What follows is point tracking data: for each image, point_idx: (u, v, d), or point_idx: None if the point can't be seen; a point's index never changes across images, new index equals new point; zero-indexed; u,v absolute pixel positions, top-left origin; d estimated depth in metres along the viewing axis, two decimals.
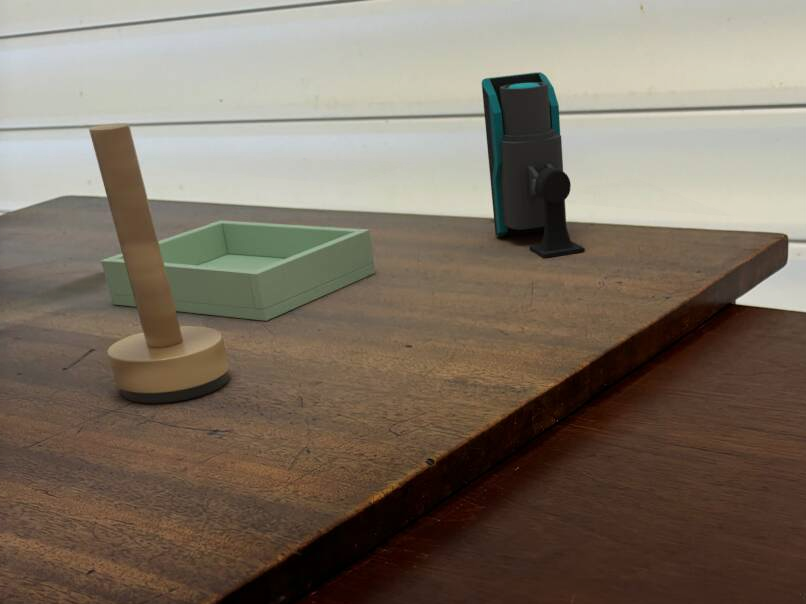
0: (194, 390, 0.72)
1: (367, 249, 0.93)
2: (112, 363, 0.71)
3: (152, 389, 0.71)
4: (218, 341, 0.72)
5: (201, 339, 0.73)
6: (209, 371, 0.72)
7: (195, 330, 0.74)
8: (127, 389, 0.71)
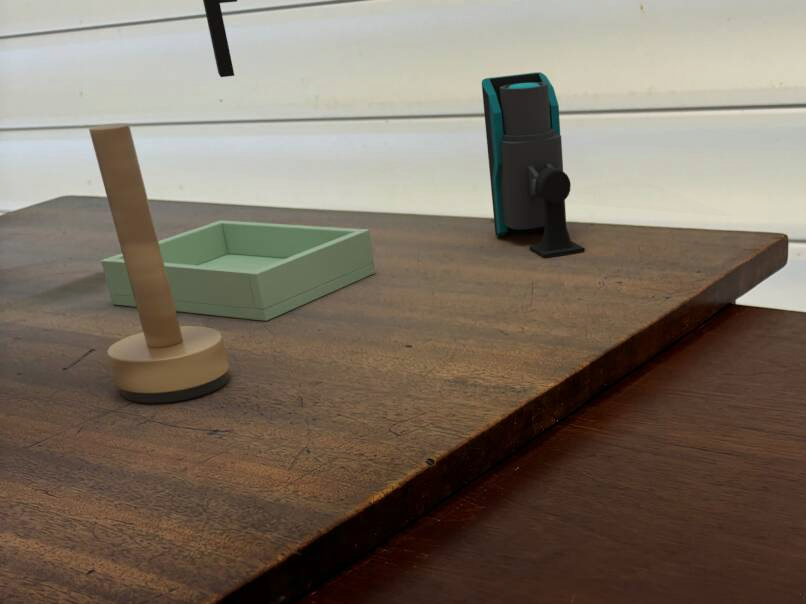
0: (194, 390, 0.72)
1: (367, 249, 0.93)
2: (112, 363, 0.71)
3: (152, 389, 0.71)
4: (218, 341, 0.72)
5: (201, 339, 0.73)
6: (209, 371, 0.72)
7: (195, 330, 0.74)
8: (127, 389, 0.71)
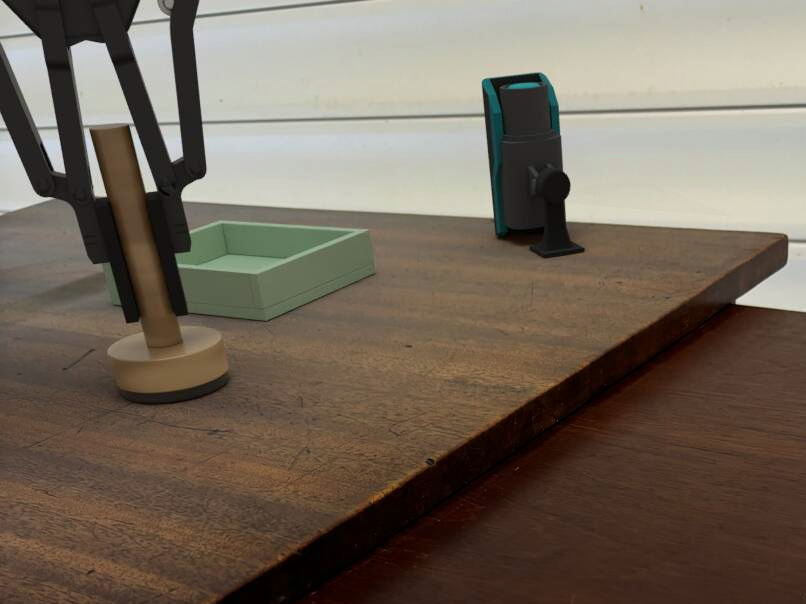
0: (194, 390, 0.72)
1: (367, 249, 0.93)
2: (112, 363, 0.71)
3: (152, 389, 0.71)
4: (218, 341, 0.72)
5: (201, 339, 0.73)
6: (209, 371, 0.72)
7: (195, 330, 0.74)
8: (127, 389, 0.71)
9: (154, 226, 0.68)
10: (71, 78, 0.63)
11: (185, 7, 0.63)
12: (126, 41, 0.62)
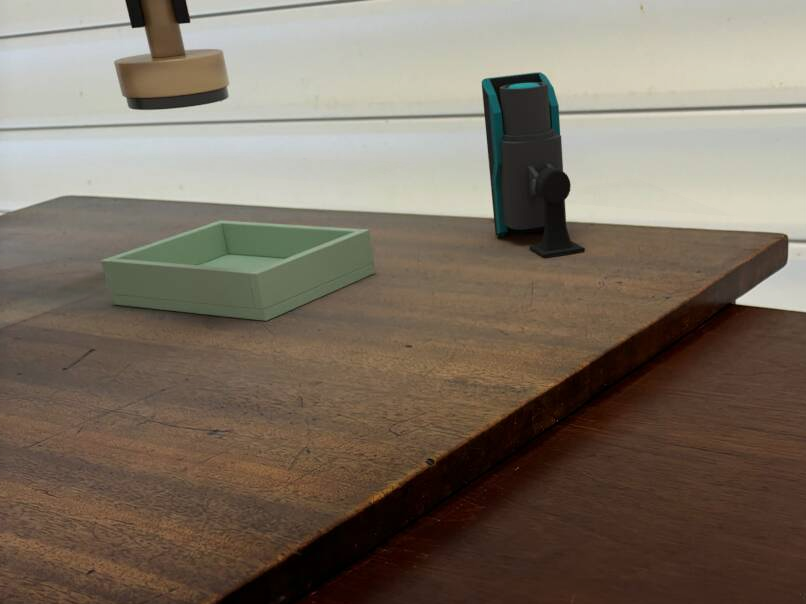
0: (195, 97, 0.76)
1: (367, 249, 0.93)
2: (118, 69, 0.75)
3: (155, 93, 0.75)
4: (219, 53, 0.76)
5: (203, 52, 0.77)
6: (209, 80, 0.76)
7: (198, 50, 0.78)
8: (132, 95, 0.76)
9: None
10: None
11: None
12: None
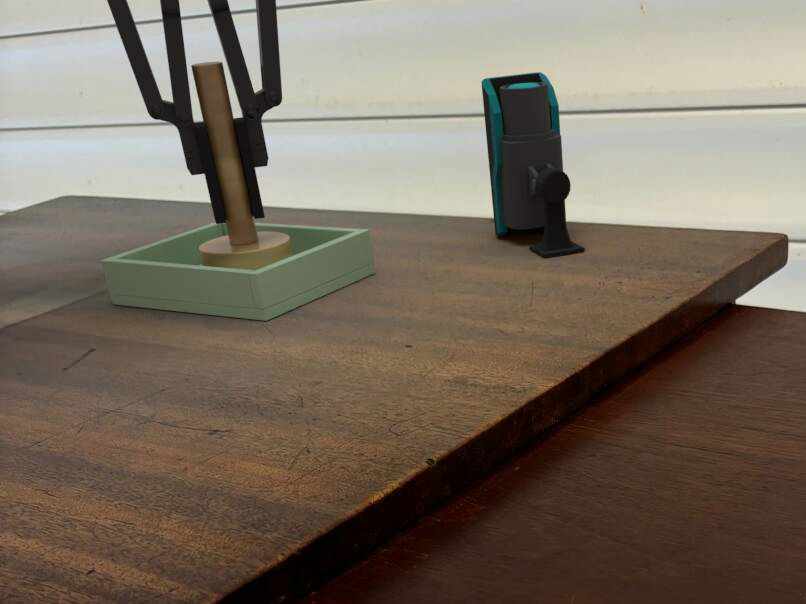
0: None
1: (367, 249, 0.93)
2: (203, 256, 0.89)
3: None
4: (287, 240, 0.90)
5: (273, 239, 0.91)
6: None
7: (267, 234, 0.92)
8: None
9: (240, 144, 0.86)
10: (180, 24, 0.81)
11: None
12: None
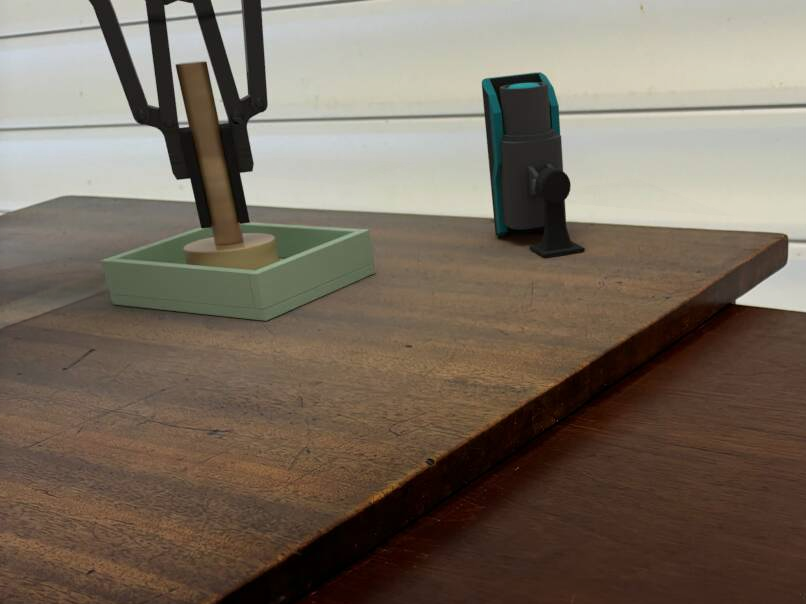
0: None
1: (367, 249, 0.93)
2: (186, 255, 0.89)
3: None
4: (270, 241, 0.90)
5: (257, 240, 0.90)
6: (261, 264, 0.89)
7: (255, 235, 0.92)
8: None
9: (225, 149, 0.86)
10: (166, 30, 0.81)
11: None
12: (209, 1, 0.81)
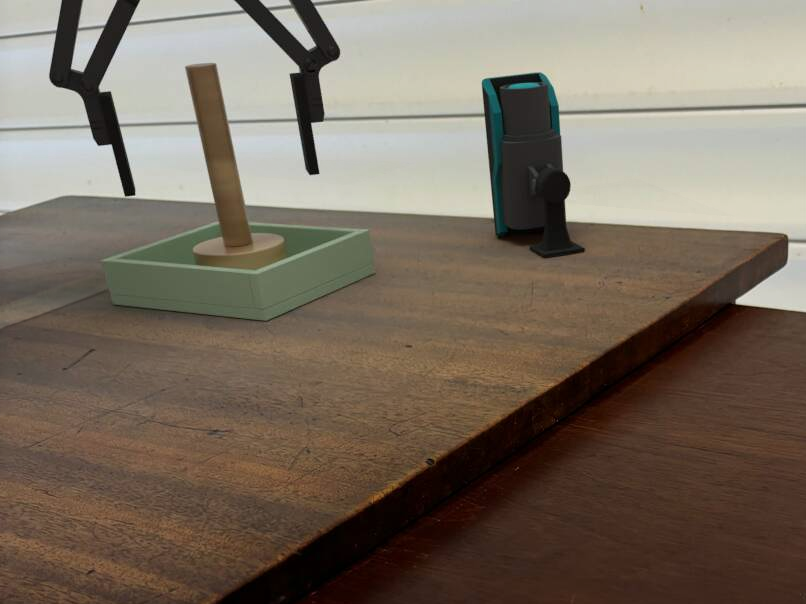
0: None
1: (367, 249, 0.93)
2: (195, 257, 0.89)
3: None
4: (279, 244, 0.90)
5: (266, 242, 0.90)
6: None
7: (264, 236, 0.92)
8: None
9: (297, 98, 0.86)
10: (132, 13, 0.80)
11: None
12: None
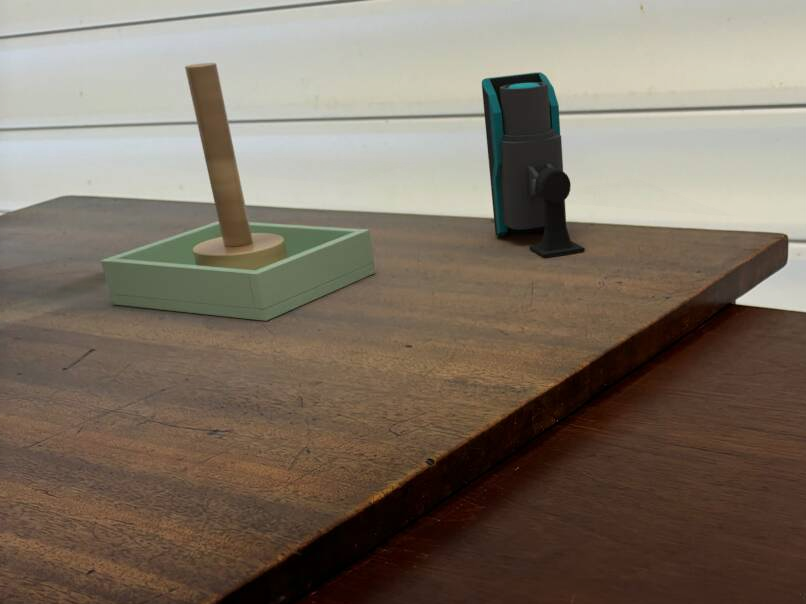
0: None
1: (367, 249, 0.93)
2: (195, 257, 0.89)
3: None
4: (279, 244, 0.90)
5: (266, 242, 0.90)
6: None
7: (264, 236, 0.92)
8: None
9: None
10: None
11: None
12: None
